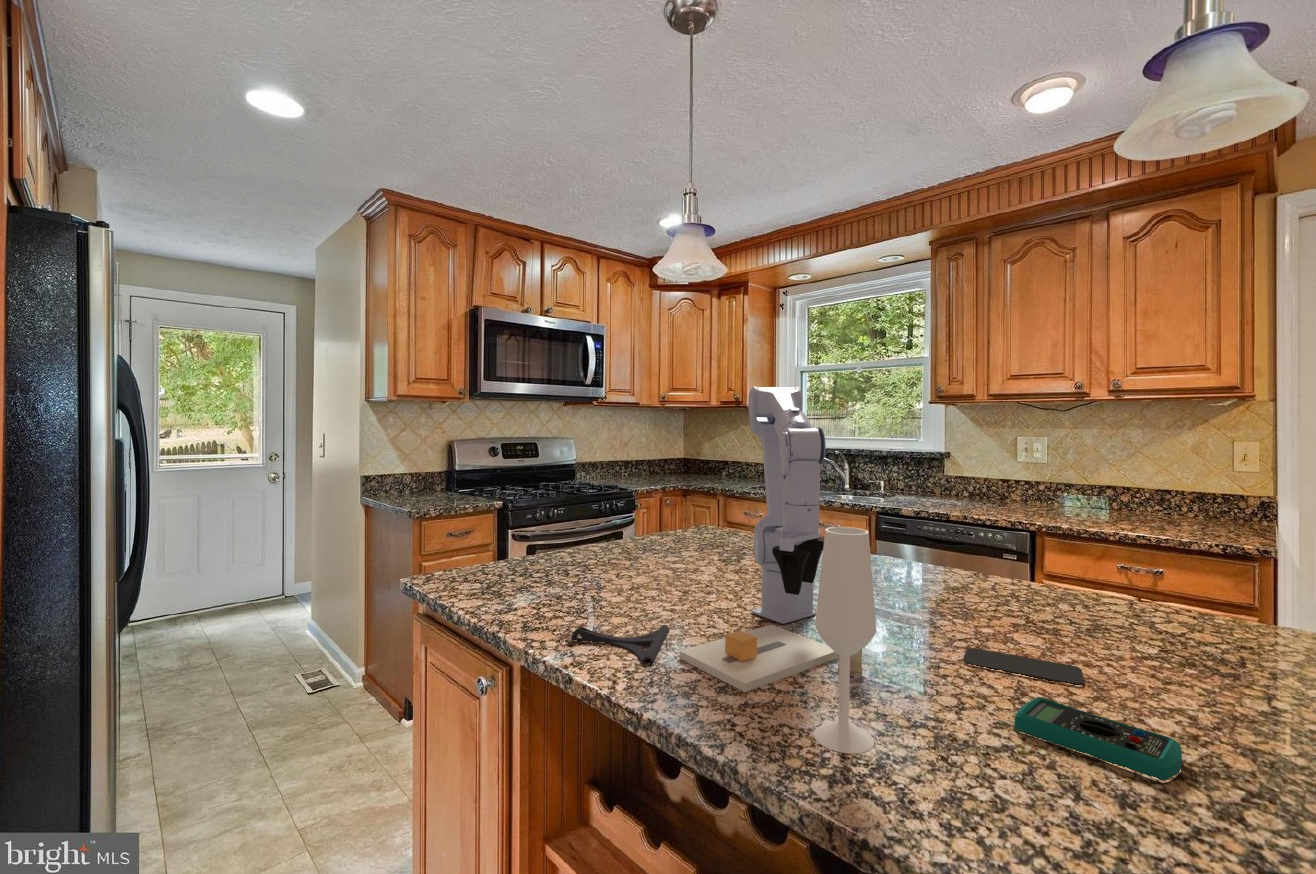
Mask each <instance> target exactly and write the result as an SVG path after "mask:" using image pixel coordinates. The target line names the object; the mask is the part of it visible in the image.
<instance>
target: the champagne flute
mask: <svg viewBox="0 0 1316 874" xmlns="http://www.w3.org/2000/svg"><path fill="white" fill-rule="evenodd" d="M824 530H825V531H824V537H823V538H824V547H823V551H822V555H821V556H822V558H821V564H820V565H821V566H820V574H819V585H818V593H817V601H816V603H817V604H816V615H815V621H814V626H815V629H816V630H817V633H818V635H819V636H820V637H821V639H822V641H823V642H824V643H825V644H826V645H827V646H829V647H830V648H831V649H832V650H833V651H835V652H836V653H838V654H839V658H838V661H839V673H838V719H836V720H835V721H831V722H828V723H824V724H821V725H819V726H817V727H816V728H815V729H814V730H813V738H814V739H815V741H816V742H817V743H818V744H819V745H821V746H822V747H825V748H826V749H829V750H831V751H834V752H838V753H842V754H853V755H854V754H861V753H865V752H868V751H870V750H871V749H872V748H873V747H874V746H875V745H874V744H875V741H874V739H873V737H872V735H871V734H869V733H868V732H867V731H865V730H864V729H862V728H860V727H859V726H857V725H855V724H854V723H852V722H850V684H851V683H850V680H851V678H850V676H851V674H850V656H851V655H854V654H856V653H857V652H858V651H860V650H861V649H862V650H863V649H864V648H865V647H866V646H867V645H869V643H870V642H871V641H872V640H873V639H874V637H875V635H876V632H877V621H876V620H877V619H876V608H875V607H876V606H875V597H874V596H875V594H874V585H873V582H874V581H873V571H872V570H873V569H872V558H871V557H872V556H871V546H870V532H869V531H868V530H867V529H865V528H864V529H863V528H858V527H849V526H831V527H827V528H825V529H824Z"/></svg>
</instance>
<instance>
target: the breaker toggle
mask: <svg viewBox="0 0 1316 874" xmlns="http://www.w3.org/2000/svg"><path fill="white" fill-rule="evenodd" d="M745 632H746V631H742V630H736V631H733V632H730V633H726V634H725V635H724V636H725V637H724V638H725V654H727V655H729V656H731V657H734V658H736V659H738V660H740V661H745V660H748V659H751V658H754V657H757V637H755V636H753V635H750V634H748V633H745Z"/></svg>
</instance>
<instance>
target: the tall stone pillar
mask: <svg viewBox="0 0 1316 874" xmlns="http://www.w3.org/2000/svg"><path fill="white" fill-rule="evenodd" d="M837 664H838V665H837V666H838V669H837V671H838V672H839V660H838V663H837ZM862 667H863V648H862V649H861V650H860V651H858V652H857V653H856V654H854V655H851V656H850V675H855V674H857V676H862V672H863V668H862Z"/></svg>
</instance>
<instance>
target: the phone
mask: <svg viewBox="0 0 1316 874" xmlns="http://www.w3.org/2000/svg"><path fill="white" fill-rule="evenodd" d="M963 661H964V662H965V663H967V664H971V665H976V666H980V667H986V668H989V669H994V670H1002V671H1005V672H1010V673H1015V674H1021V675H1025V676H1029V677H1034V678H1038V679H1045V680H1048V681H1055V682H1065V683H1070V684H1073V685H1083V686H1084V675H1083V669H1081V667H1078V666H1077V665H1076V666H1075V665H1072V664H1066V663H1060V662H1057V661H1056V662H1055V661H1049V660H1044V659H1039V658H1032V657H1026V656H1023V655H1022V656H1021V655H1017V654H1016V655H1015V654H1010V653H1003V652H998V651H993V650H987V649H980V648H975V647H968V648H967V649H966V650H965V654H964V656H963V659H962V662H963Z"/></svg>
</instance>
